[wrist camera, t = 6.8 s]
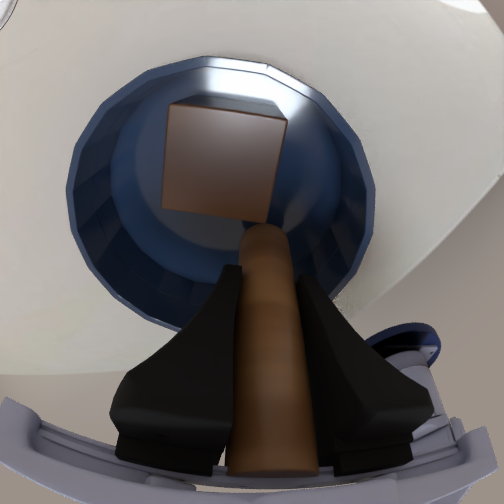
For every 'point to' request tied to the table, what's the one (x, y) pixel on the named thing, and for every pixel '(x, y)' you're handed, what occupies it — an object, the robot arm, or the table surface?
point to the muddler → (269, 367)
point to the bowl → (206, 226)
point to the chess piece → (6, 10)
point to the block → (221, 157)
